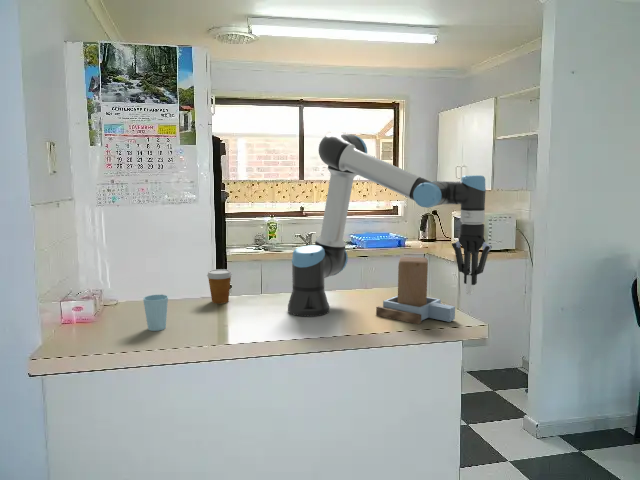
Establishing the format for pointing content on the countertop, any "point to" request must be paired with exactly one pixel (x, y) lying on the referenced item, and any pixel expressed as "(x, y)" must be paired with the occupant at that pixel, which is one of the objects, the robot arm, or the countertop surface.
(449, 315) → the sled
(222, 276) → the disposable coffee cup
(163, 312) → the cup
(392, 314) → the rails
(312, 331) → the countertop surface
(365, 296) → the countertop surface
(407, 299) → the wooden block
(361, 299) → the countertop surface
